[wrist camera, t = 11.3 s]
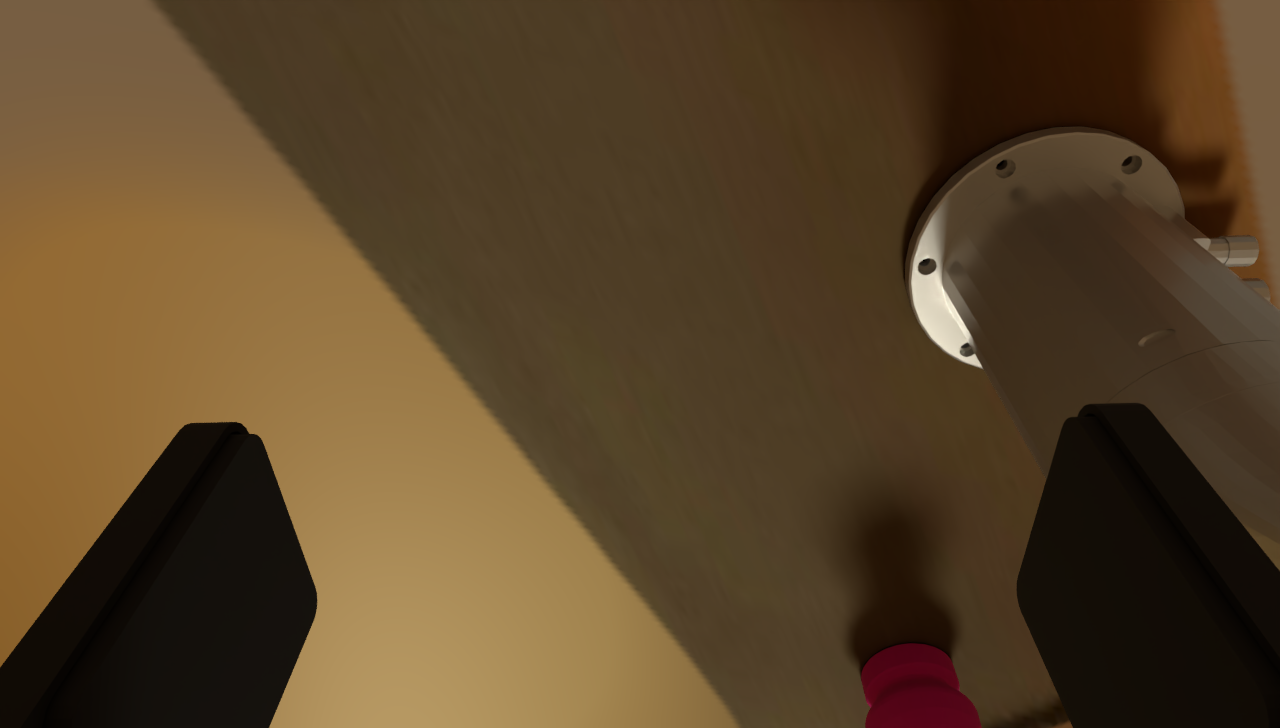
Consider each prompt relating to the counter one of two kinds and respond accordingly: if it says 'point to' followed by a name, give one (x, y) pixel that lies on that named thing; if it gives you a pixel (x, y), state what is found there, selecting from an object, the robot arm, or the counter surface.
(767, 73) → the counter surface
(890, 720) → the pepper mill
